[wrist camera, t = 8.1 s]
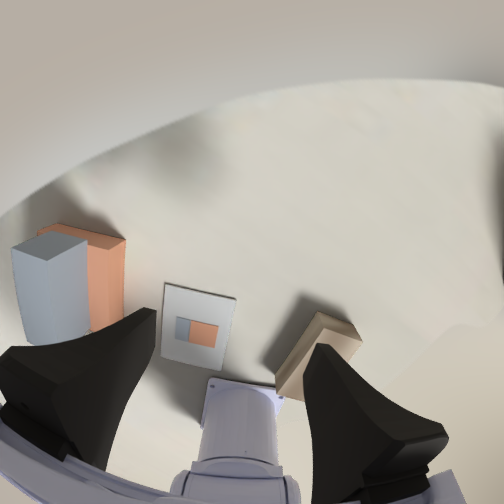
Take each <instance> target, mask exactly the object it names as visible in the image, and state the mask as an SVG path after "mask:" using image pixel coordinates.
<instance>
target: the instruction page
mask: <svg viewBox="0 0 504 504" xmlns="http://www.w3.org/2000/svg"><path fill="white" fill-rule="evenodd" d="M235 304H236V299H231V298H226V297H222V296H217V295H212V294H208V293H204V292H199V291H195V290H190V289H186V288H182V287H178V286H174V285H169V284H166V285H165V295H164V307H163V320H162V337H161V357H163V358H166V359H170V360H174V361H178V362H182V363H186V364H190V365H194V366H198V367H203V368H207V369H212V370H217V371H221V368H222V364H223V359H224V355H225V350H226V345H227V341H228V336H229V332H230V327H231V323H232V318H233V313H234V309H235Z"/></svg>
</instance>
